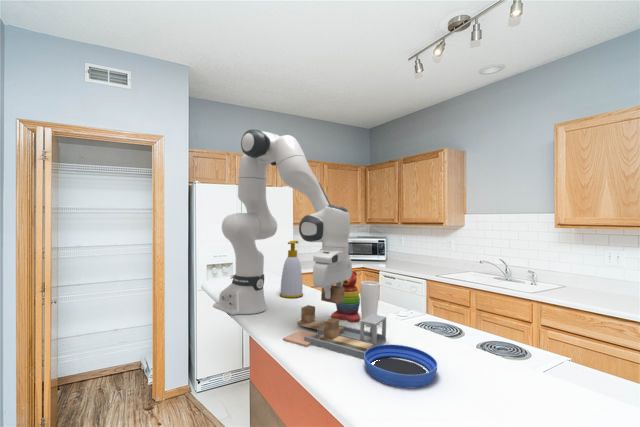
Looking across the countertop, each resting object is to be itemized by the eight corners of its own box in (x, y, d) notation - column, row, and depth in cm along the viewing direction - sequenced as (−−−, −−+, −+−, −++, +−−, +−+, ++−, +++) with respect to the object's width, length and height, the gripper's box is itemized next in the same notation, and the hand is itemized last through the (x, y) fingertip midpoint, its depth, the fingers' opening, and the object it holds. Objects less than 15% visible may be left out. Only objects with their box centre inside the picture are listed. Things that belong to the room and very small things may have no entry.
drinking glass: (378, 327, 116) (379, 285, 116) (358, 326, 117) (359, 283, 117) (378, 321, 122) (379, 281, 122) (360, 320, 124) (361, 280, 124)
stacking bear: (329, 319, 124) (330, 271, 124) (337, 312, 133) (339, 268, 133) (356, 323, 120) (358, 274, 120) (363, 315, 129) (365, 270, 129)
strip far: (297, 324, 114) (298, 306, 114) (304, 321, 117) (304, 304, 117) (338, 334, 105) (338, 315, 105) (343, 331, 109) (344, 312, 109)
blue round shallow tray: (426, 399, 71) (426, 382, 72) (351, 375, 81) (352, 361, 81) (444, 367, 87) (444, 354, 87) (379, 351, 96) (379, 339, 96)
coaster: (282, 340, 102) (282, 338, 102) (299, 331, 110) (299, 330, 110) (306, 346, 97) (306, 344, 97) (322, 337, 105) (322, 335, 105)
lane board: (304, 342, 100) (304, 317, 100) (330, 328, 114) (331, 306, 114) (364, 359, 90) (365, 331, 90) (385, 341, 103) (386, 316, 104)
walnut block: (321, 300, 109) (321, 286, 109) (328, 297, 113) (328, 284, 112) (337, 303, 106) (337, 289, 105) (343, 300, 109) (344, 287, 109)
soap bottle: (306, 294, 162) (308, 240, 162) (298, 299, 151) (299, 242, 151) (285, 291, 166) (287, 239, 166) (275, 297, 155) (277, 241, 155)
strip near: (319, 340, 100) (319, 319, 100) (326, 336, 104) (326, 316, 104) (367, 353, 92) (368, 330, 92) (373, 348, 95) (374, 327, 95)
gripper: (341, 251, 119) (339, 289, 119) (310, 256, 102) (307, 300, 102) (357, 253, 116) (355, 292, 116) (327, 258, 99) (325, 304, 99)
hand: (332, 296), depth 109 cm, fingers closed on walnut block, 4 cm apart
